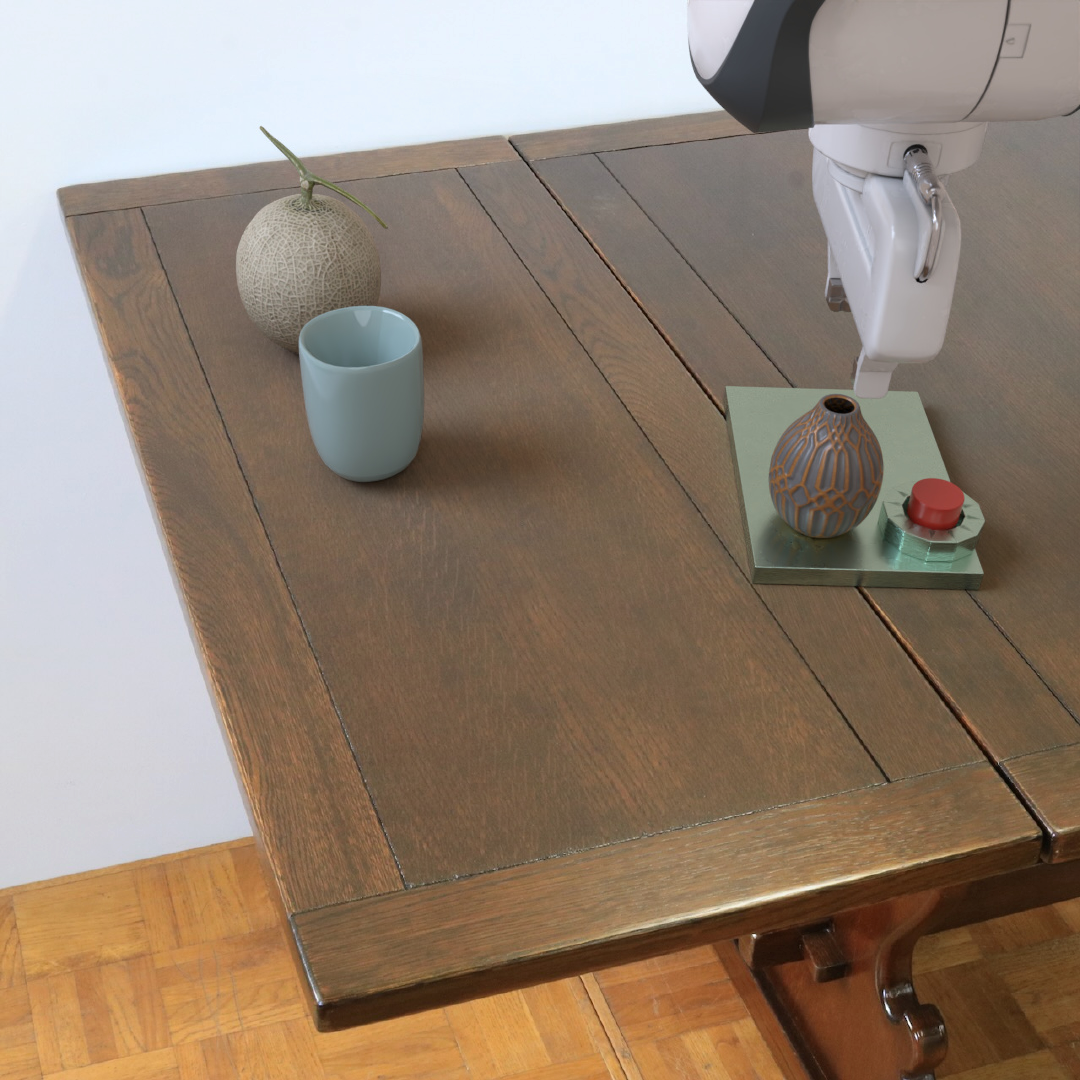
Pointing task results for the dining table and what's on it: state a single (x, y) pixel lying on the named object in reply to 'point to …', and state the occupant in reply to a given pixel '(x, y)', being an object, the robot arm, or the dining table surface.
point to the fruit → (305, 259)
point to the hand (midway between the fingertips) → (853, 346)
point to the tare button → (935, 504)
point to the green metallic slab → (887, 532)
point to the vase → (826, 469)
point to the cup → (363, 390)
